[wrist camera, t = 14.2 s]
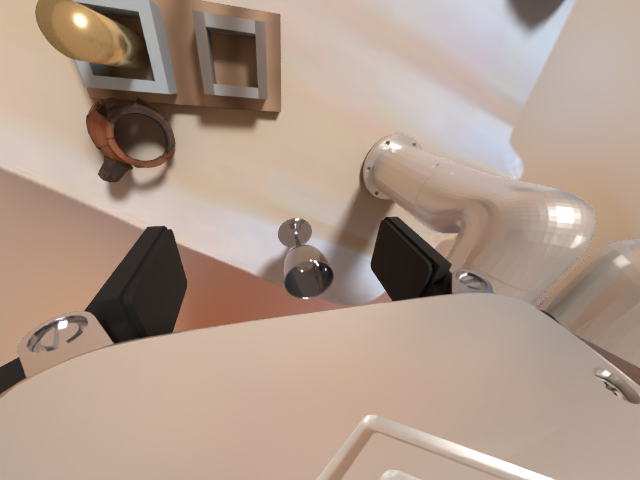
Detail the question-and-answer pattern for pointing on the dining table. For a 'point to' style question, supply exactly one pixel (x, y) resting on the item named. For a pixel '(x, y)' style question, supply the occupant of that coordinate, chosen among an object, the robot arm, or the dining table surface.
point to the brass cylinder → (90, 35)
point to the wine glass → (303, 262)
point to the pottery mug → (105, 140)
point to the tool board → (212, 57)
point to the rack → (139, 5)
